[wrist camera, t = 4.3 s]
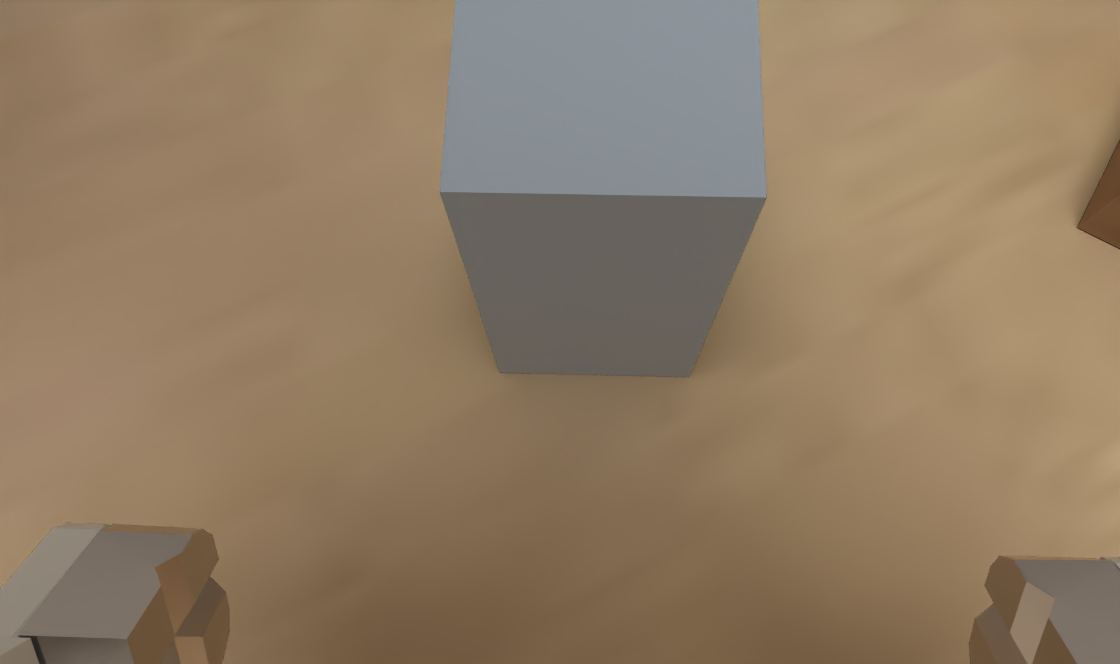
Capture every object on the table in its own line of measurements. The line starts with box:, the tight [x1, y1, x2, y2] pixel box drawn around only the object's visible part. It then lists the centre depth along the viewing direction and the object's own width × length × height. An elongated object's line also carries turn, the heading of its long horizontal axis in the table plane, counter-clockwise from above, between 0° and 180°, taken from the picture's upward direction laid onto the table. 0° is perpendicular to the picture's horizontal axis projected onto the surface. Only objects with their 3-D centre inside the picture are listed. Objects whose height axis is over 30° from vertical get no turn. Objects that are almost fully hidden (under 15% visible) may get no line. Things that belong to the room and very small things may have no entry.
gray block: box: [440, 0, 767, 377], centre depth 19 cm, size 5×5×10 cm
